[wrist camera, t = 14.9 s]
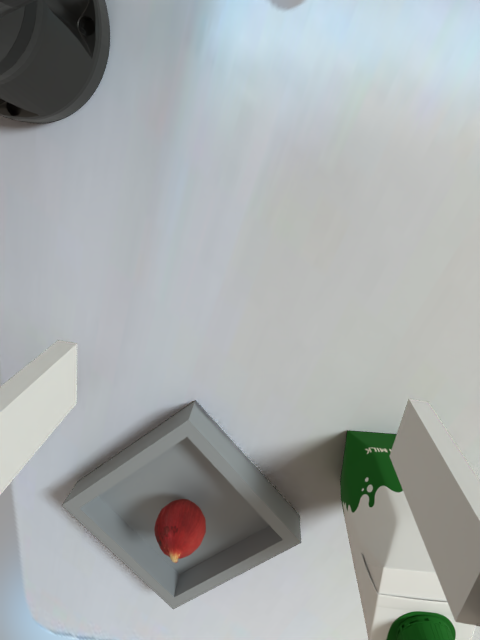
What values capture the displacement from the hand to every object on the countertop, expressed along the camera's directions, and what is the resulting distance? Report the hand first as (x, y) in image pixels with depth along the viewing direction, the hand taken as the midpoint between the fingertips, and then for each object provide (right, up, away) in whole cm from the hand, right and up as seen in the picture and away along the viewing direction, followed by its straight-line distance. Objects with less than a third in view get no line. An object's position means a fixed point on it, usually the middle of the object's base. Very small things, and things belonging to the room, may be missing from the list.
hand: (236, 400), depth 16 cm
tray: (-6, -19, +36) cm, 41 cm away
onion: (-6, -19, +35) cm, 41 cm away
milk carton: (+16, -13, +32) cm, 38 cm away
